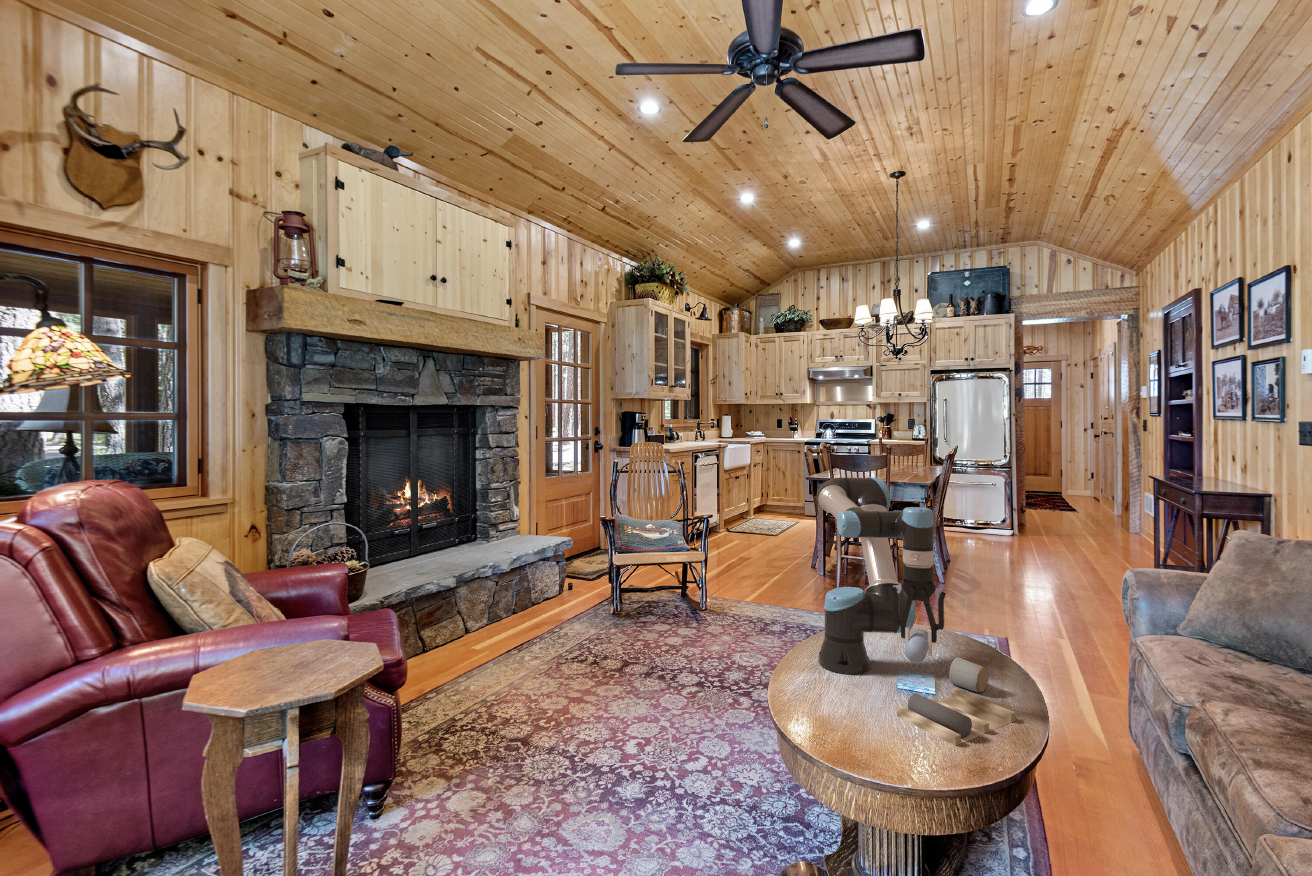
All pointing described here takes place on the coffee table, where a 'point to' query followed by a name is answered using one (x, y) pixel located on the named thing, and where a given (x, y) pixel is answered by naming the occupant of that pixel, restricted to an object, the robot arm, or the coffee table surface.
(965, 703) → the slot rack
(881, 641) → the coffee table surface
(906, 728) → the coffee table surface
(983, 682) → the ceramic mug
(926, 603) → the robot arm
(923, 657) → the gray dowel
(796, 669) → the coffee table surface
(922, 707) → the charcoal rod
